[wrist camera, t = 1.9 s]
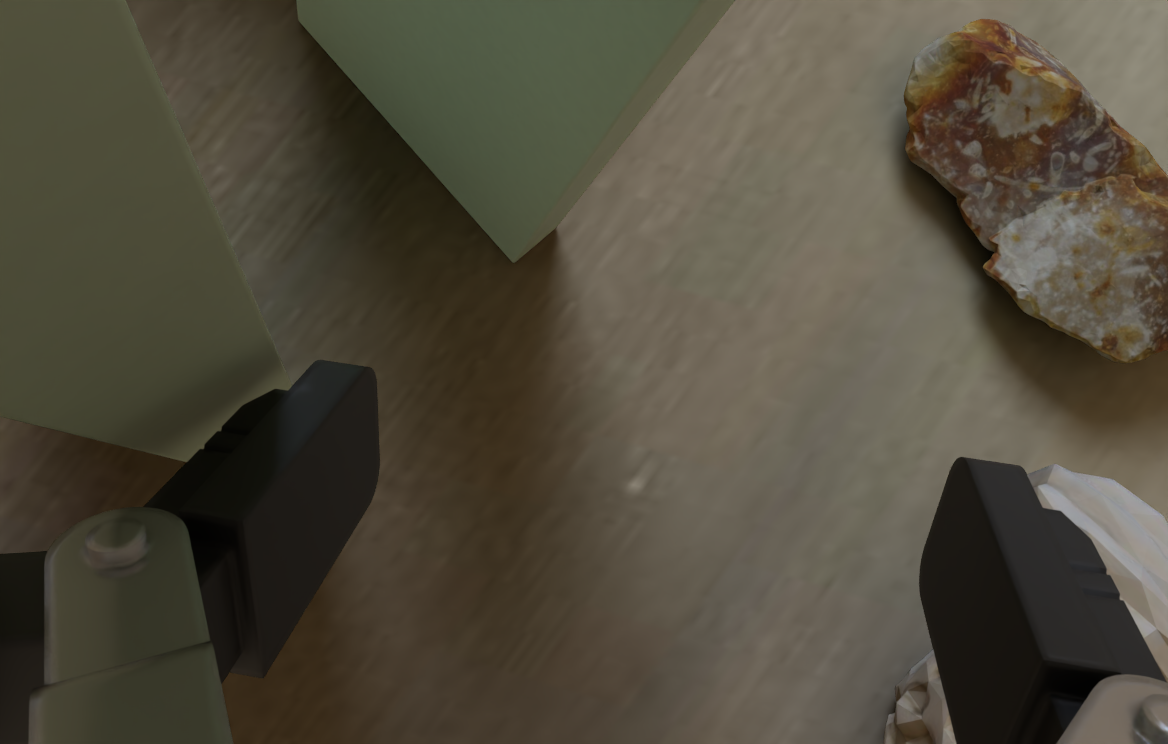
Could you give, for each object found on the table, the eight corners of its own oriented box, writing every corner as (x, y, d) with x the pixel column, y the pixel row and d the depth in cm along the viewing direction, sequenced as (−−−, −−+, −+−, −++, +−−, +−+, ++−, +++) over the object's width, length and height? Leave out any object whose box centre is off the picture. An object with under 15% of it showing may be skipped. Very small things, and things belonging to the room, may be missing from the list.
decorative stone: (1241, 412, 29) (870, 128, 29) (1139, 431, 33) (815, 182, 33) (1353, 197, 31) (1011, -66, 31) (1245, 240, 36) (943, 8, 36)
